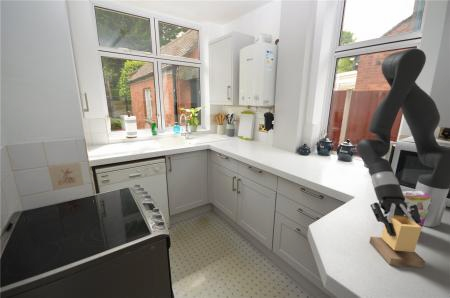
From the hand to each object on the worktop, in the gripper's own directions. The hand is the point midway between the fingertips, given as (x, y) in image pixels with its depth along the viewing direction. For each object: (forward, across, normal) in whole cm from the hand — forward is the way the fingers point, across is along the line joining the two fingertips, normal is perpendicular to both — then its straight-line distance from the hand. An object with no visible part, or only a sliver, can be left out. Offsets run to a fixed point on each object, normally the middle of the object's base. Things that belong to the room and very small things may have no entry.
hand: (404, 236), depth 63 cm
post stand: (+5, 0, +7) cm, 8 cm away
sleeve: (+2, 0, +4) cm, 5 cm away
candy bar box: (-5, +13, +17) cm, 22 cm away
